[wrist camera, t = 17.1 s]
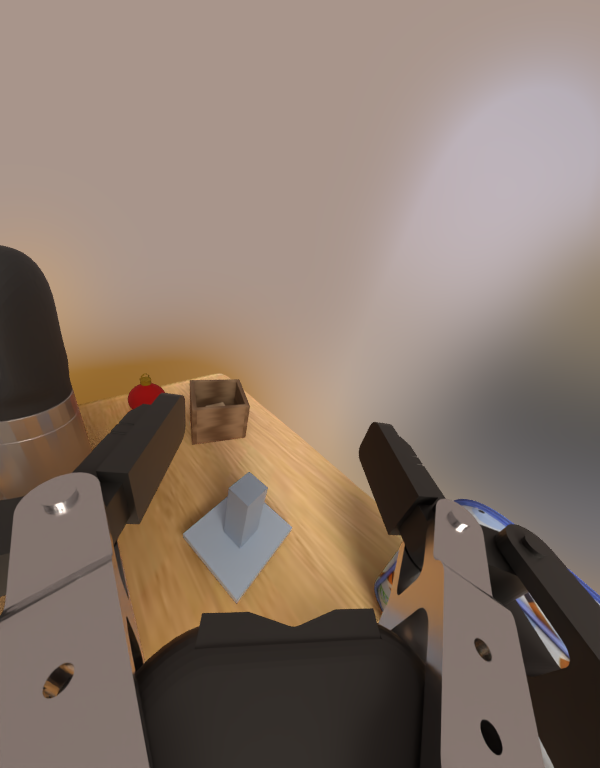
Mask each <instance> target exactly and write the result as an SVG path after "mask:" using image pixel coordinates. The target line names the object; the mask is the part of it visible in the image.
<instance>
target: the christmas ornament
mask: <svg viewBox="0 0 600 768" xmlns="http://www.w3.org/2000/svg"><path fill="white" fill-rule="evenodd" d="M143 375H144V374H143ZM143 375H142V376H143ZM142 376H141V378H140V385H137V386H136V387H134V388H133V389H132V390H131V392H130V393H129V396H128V403H129V405H130V407H131V408H132V409H135V408H137V407H138V406H140V405H142V404H149V405H151V404H152V403H153V402H154V400H155V399H156V398H157V397H158V396H159V394H161V393H165V392H164V390H163V389H162V388H161V387H159V386H158V385H156V384H152V383H151V378H150V377H149V375H148V377H142Z"/></svg>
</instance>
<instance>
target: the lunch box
mask: <svg viewBox="0 0 600 768" xmlns="http://www.w3.org/2000/svg"><path fill="white" fill-rule="evenodd" d="M454 502H456V503H458V504H460V505H461V506H463V507H464V508H465V509H467V510H468V511H469V512H470V513H471V514H472V515H473V516H474V517H475V519H476V520H477V521H478V523H479V524H481V525H483V526H486V527H489V528H491V529H494V530H497V531H499V532H500V531H501V530H503V529H504V528H505V527H506V526H507V525H509V524H514V523H512V522H511V521H509V520H508V519H506V518H505V517H504V516H502V515H501V514H499V513H498V512H496V511H495V510H493V509H491V508H489V507H488V506H486V505H484V504H481V503H479V502H476V501H473V500H467V499H458V500H454ZM398 553H399V550H398V551H397V552H396V554H395V555H394V556H393V558H392V559H391V561H390V562H389V563H388V564H387V566H386V567H385V569H384V570H383V571H382V573H381V574H380V575H379V577H378V578H377V580H376V582H375V587H374V590H375V595H376V598H377V601H378V603H379V605H380V607H381V609H382V611H384V609H385V607H386V605H387V603H388V600H389V597H390V593H391V588H392V583H393V578H394V573H395V568H396V563H397V558H398ZM569 571H570V570H569ZM570 572H571V571H570ZM571 573H572V574H573V575H574V576H575V577H576V579H577V580H578V581H579V582H580V583H581V584H582V586H583V587H584V588H585V589H586V590H587V591H588V592H589V594H590V595H591V596H592V597H593V598H594V599H595V600H596V602H597V603H598V604H599V605H600V596H599V595H598V594H597V593H596V592H595V591H594V590H592V589H591V588H590V587H589V586H588V585H587V584H585V583H584V582H583V581H582V580H581V579H580V578H578V577H577V576H576V575H575V574H574V573H573V572H571ZM516 601H517V602H518V604H519V606H520V607H521V609H522V610H523V612H524V613H525V615H526V616H527V618H528V620H529V621H530V623H531V624H532V626H533V627H534V629H535V631H536V632H537V634H538V635H539V637H540V638H541V640H542V641H543V643H544V645H545V646H546V648H547V649H548V651H549V652H550V654H551V655H552V657H553V659H554V660H555V662H556V663H557V664H558V666H559V667H560V668H561V669H562V668H566V667H567V666H568V665H569V662H570V658H569V654H568V651H567V648H566V646H565V644H564V643H563V641H562V640H561V638H560V637H559V635H558V634H557V632H556V631H555V630H554V628H553V627H552V625H551V624H550V622H549V621H548V619H547V618H546V617H545V615H544V614H543V612H542V611H541V609H540V608H539V606H538V605H537V604H536V602H535V601H534V599H533V598H532V596H531V595H530V593H529V592H528V593H526V594H525V595H523V596H521V597H519V598H518V599H516ZM539 742H540V747H541V751H542V756H543V761H544V766H545V768H554V766H553V764H552V763H551V761H550V759H549V757H548V755H547V753H546V751H545V749H544V747H543V745H542V743H541V741H540V739H539Z"/></svg>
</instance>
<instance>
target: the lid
mask: <svg viewBox="0 0 600 768" xmlns="http://www.w3.org/2000/svg"><path fill="white" fill-rule="evenodd" d="M267 489H268V487H266V486H265V485H264V484H263V483H262V482H261V481H259V480H258V479H257V478H256V477H255V476H254V475H252V474H251V473H250V472H248V473H247V474H246V475H244V476H243V477H242V478H241V479H240V480H238V481H237V482H236V483H235V484H233V485H232V486H231V487H230V488H229V491H228V497H226V498H225V499H224V500H223V501H222V502H220V503H219V504H218V505H217V506H216V507H214V508H213V509H212V510H211V511H210V512H208V513H207V514H206V515H205V516H204V517H202V518H201V519H200V520H199V521H198V522H196V523H195V524H194V525H193V526H192V527H190V528H189V529H188V530H187V531H186V532H184V533H183V538H184V539H185V540H186V542H187V543H188V544H189V545H190V547H191V548H192V549H193V550H194V552H195V553H196V554H197V555H198V557H199V558H200V559H201V560H202V562H203V563H204V564H205V565H206V566H207V568H208V569H209V570H210V571H211V573H212V574H213V575H214V576H215V578H216V579H217V580H218V581H219V583H220V584H221V585H222V586H223V588H224V589H225V590H226V591H227V593H228V594H229V595H230V596H231V598H232V599H233V600H234V601H235V603H236V604H237V603H238V601H239V600H240V599H241V597H242V596H243V594H244V593H245V592H246V590H247V589H248V588H249V586H250V585H251V584H252V582H253V581H254V580H255V578H256V577H257V576H258V574H259V573H260V572H261V570H262V569H263V568H264V566H265V565H266V564H267V562H268V561H269V560H270V558H271V557H272V556H273V554H274V553H275V552H276V550H277V549H278V548H279V546H280V545H281V544H282V542H283V541H284V540H285V538H286V537H287V536H288V534H289V533H290V532H291V529H292V527H291V526H290V525H289V524H288V523H287V522H286V521H284V520H283V519H282V518H281V517H280V516H279V515H278V514H277V513H276V512H274V511H273V510H272V509H271V508H270V507H269V506H268V505H267V504H266V503H265V502H264V501H265V497H266V493H267Z"/></svg>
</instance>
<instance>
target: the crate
mask: <svg viewBox="0 0 600 768" xmlns="http://www.w3.org/2000/svg"><path fill="white" fill-rule="evenodd" d="M221 402H223V403H224V404H225V406H213V407H206V406H208V405H212V404H217V403H221ZM249 408H250V405H249V403H248V400H247V398H246V395H245V393H244V390H243V388H242V385H241V383H240V381H239V380H190V415H191V429H192V443H193V445H194V444H201V443H208V442H216V441H223V440H230V439H237V438H244V437H245V436H246V429H247V422H248V415H249Z"/></svg>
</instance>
